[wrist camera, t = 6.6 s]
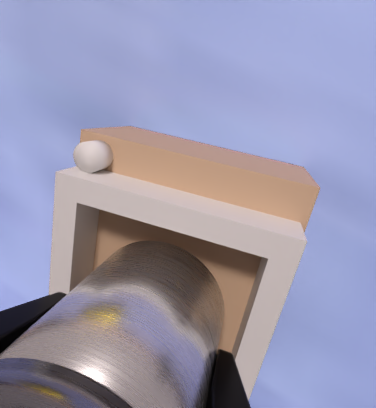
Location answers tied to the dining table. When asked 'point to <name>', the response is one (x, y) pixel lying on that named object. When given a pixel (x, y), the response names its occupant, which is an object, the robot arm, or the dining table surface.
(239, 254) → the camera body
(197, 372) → the lens
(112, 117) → the dining table surface
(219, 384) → the robot arm
